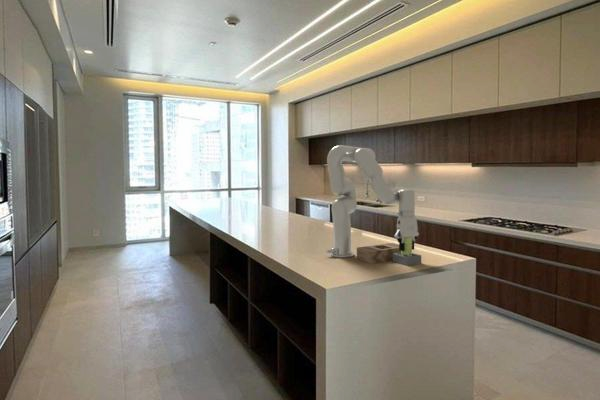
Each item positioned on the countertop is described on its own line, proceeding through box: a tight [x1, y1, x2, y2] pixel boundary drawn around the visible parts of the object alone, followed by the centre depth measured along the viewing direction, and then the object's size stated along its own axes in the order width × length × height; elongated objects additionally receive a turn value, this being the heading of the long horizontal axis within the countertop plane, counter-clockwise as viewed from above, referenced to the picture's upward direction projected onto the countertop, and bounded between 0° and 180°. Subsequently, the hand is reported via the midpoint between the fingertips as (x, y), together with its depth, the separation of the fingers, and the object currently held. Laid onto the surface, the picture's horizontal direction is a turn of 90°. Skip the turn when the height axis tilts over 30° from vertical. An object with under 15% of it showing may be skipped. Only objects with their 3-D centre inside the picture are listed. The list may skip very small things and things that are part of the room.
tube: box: [401, 237, 413, 257], centre depth 188 cm, size 6×5×20 cm
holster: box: [392, 252, 422, 267], centre depth 188 cm, size 9×10×4 cm
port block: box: [356, 242, 401, 264], centre depth 198 cm, size 24×12×6 cm, turn 116°
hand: (406, 249), depth 188 cm, fingers closed on tube, 5 cm apart
